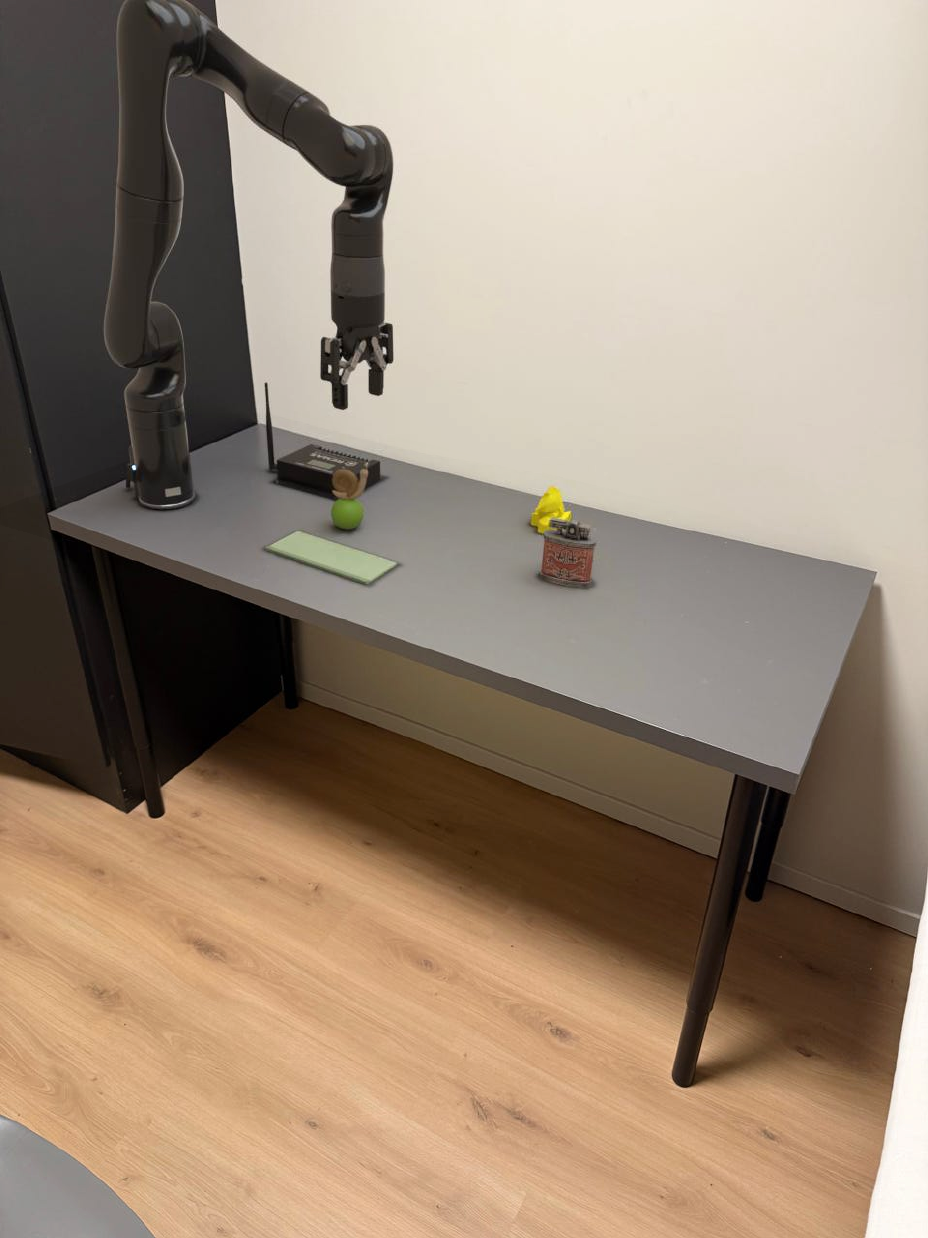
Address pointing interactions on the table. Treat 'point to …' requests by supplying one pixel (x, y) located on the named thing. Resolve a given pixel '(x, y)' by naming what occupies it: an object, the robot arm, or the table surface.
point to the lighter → (568, 553)
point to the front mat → (331, 557)
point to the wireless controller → (315, 465)
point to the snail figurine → (348, 498)
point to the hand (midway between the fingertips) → (358, 401)
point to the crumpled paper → (549, 510)
